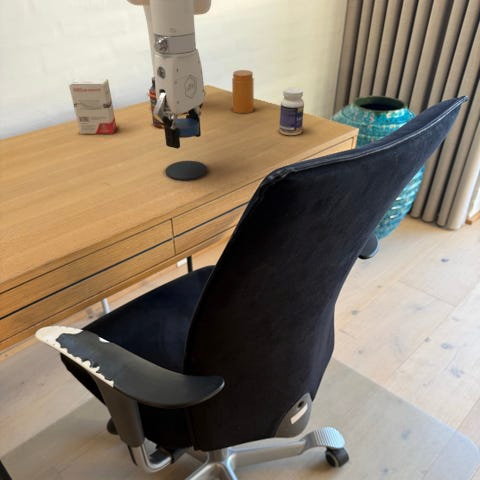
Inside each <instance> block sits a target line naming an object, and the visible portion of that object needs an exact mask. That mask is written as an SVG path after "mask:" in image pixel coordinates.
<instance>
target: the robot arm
mask: <svg viewBox="0 0 480 480" xmlns="http://www.w3.org/2000/svg"><path fill="white" fill-rule="evenodd" d="M126 1H127V2H128V3H129V4H130V5H133V6H142V7H143V12H144V16H145V21H146V26H147V31H148V32H147V33H148V39H149V48H150V57H151V65H152V72H153V73H152V74H153V77H155V88H156V98H157V103H156V106H155V108H154V110H153V116H154V117H155V118H156V119H157V120H158V121H159V122H160V123H161V124H162V127H164V128H163V131H164V137H165V145H166V147H169V148H172V149H176V150H179V149H180V148H181V138H179V129H178V128H176V124H177V119H178V117H179V116H180V115H184V114H185V113H187V114H186V115H185V118H189V119H194V120H196V121H198V122H199V133H198V134H197V135H196V136H194V137H196V138H200V137H201V135H202V132H201V118H200V117H201V116H202V107H203V106H204V105H203V104H204V102H205V98H206V93H207V92H206V89H205V83H204V82H205V81H204V73H203V67H202V61H201V56H200V53H199V49H198V48H197V41H196V27H195V16H201V15H204V14H207V13H208V12H209V11H210V10H211V8H212V0H126ZM151 87H152V86H149V87H148V90H147V91H146V95H147V96H148V97H150V94H149V89H150V88H151ZM169 109H170V111H169ZM169 114H171V115H172V118H171V120H170V119H169V118H168V117H169Z"/></svg>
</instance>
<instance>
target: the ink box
mask: <svg viewBox="0 0 480 480" xmlns="http://www.w3.org/2000/svg"><path fill="white" fill-rule="evenodd" d="M68 87H69V92H70V95H71V100H72V104H73V108H74V113H75V118H76V121H77V125H78V129H79V133H80V134H81V135H88V134H91V135H92V134H93V135H96V134H97V135H99V134H101V135H102V134H111V135H112V134H113V133H114V132H115V131H116V130H117V122H116V116H115V111H114V105H113V99H112V95H111V89H110V83H109V79H107V78H93V79H91V78H89V79H88V78H87V79H84V78H83V79H81V78H80V79H74V80H73V81H71V82H70V83H69V84H68Z"/></svg>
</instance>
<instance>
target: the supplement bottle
mask: <svg viewBox="0 0 480 480" xmlns="http://www.w3.org/2000/svg"><path fill="white" fill-rule="evenodd" d="M150 87H151V88H150V89H149V88H148V91H149V94H150V96H149V102H150V108H151V109H150V110H151V119H152V124H153V126H155V127H157V128H162V129H164V127H162V124H161V123H160V122H159V121H158V120H157V119H156V118H155V117H154V116H153V110H154V108H155V106H156V103H157V98H156V88H155V77H154V76H153V77H152V78H151V86H150ZM169 111H170V109H169ZM168 118H169V119H170V120H171V118H172V115H171V114H169V117H168Z"/></svg>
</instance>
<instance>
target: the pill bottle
mask: <svg viewBox="0 0 480 480" xmlns="http://www.w3.org/2000/svg"><path fill="white" fill-rule="evenodd" d="M282 96H283V98H282V99H281V101H280V110H279V111H280V112H279V113H280V114H279V132H280V133H281V134H282V135H284V136H285V135H286V136H297V135H300V134H301V133H302V132H303V121H304V109H305V101H304V100H303V98H302V97H303V96H304V90H303V89H302V88H300V87H285V88H284V89H283V91H282Z"/></svg>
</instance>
